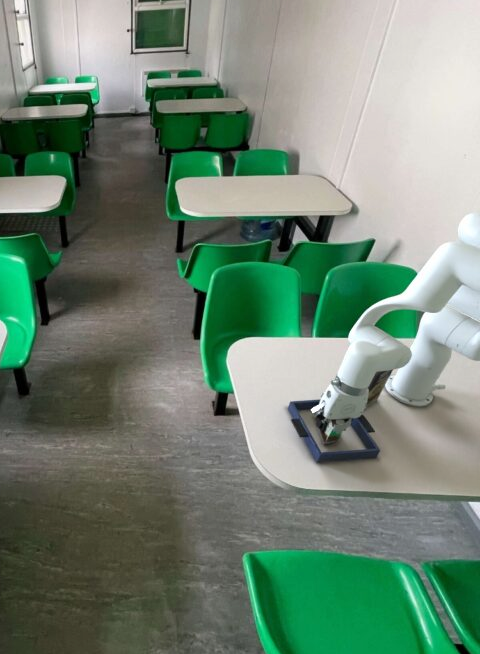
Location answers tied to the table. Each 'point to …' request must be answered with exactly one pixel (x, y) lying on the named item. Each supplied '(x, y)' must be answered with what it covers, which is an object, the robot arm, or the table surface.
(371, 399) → the coffee box
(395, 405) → the table surface
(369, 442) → the roasting pan
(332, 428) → the food container
